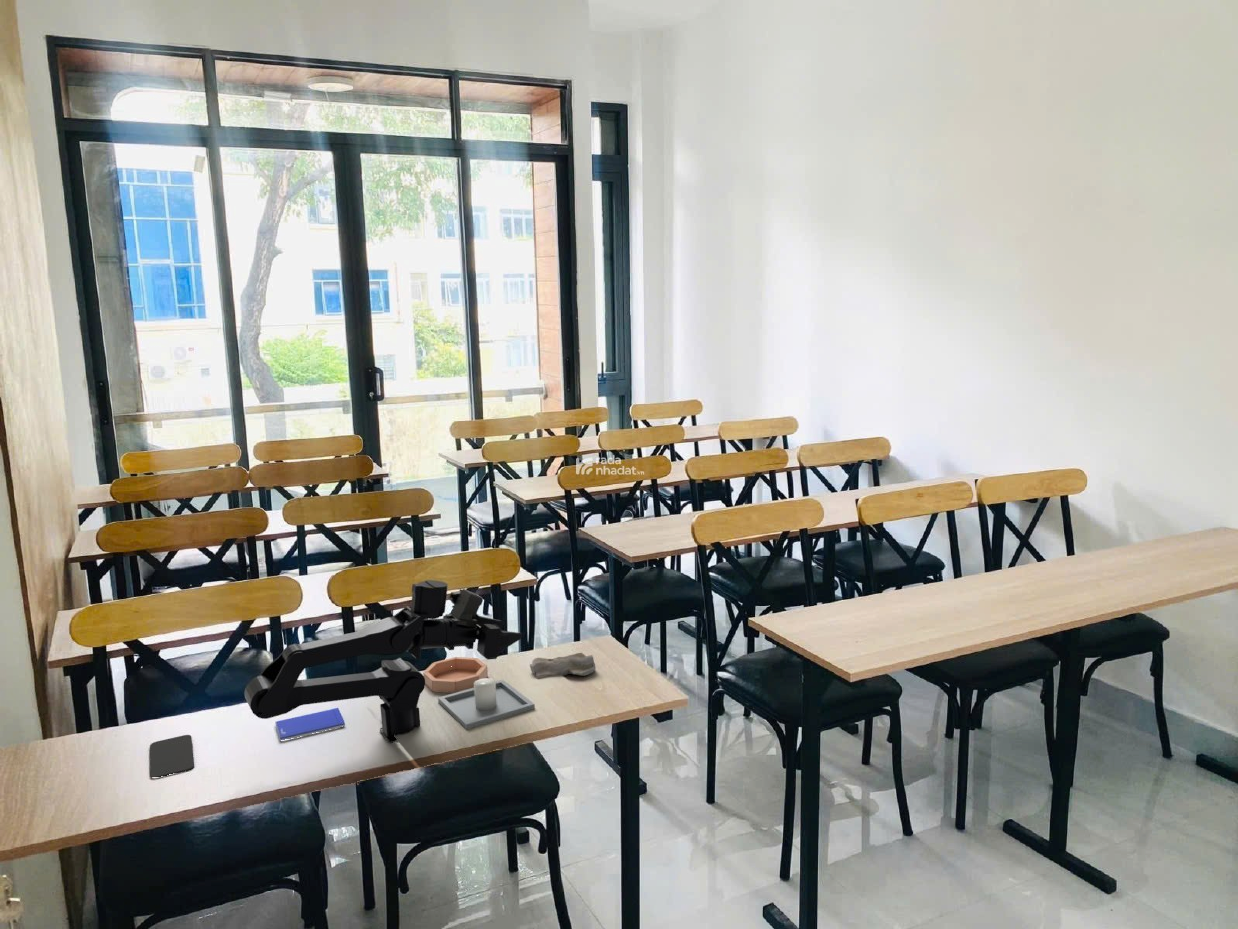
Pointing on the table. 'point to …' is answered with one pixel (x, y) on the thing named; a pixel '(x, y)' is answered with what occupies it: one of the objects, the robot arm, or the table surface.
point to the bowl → (454, 674)
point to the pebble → (485, 694)
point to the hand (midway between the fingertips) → (511, 629)
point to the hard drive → (309, 724)
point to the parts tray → (470, 716)
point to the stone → (563, 665)
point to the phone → (171, 756)
